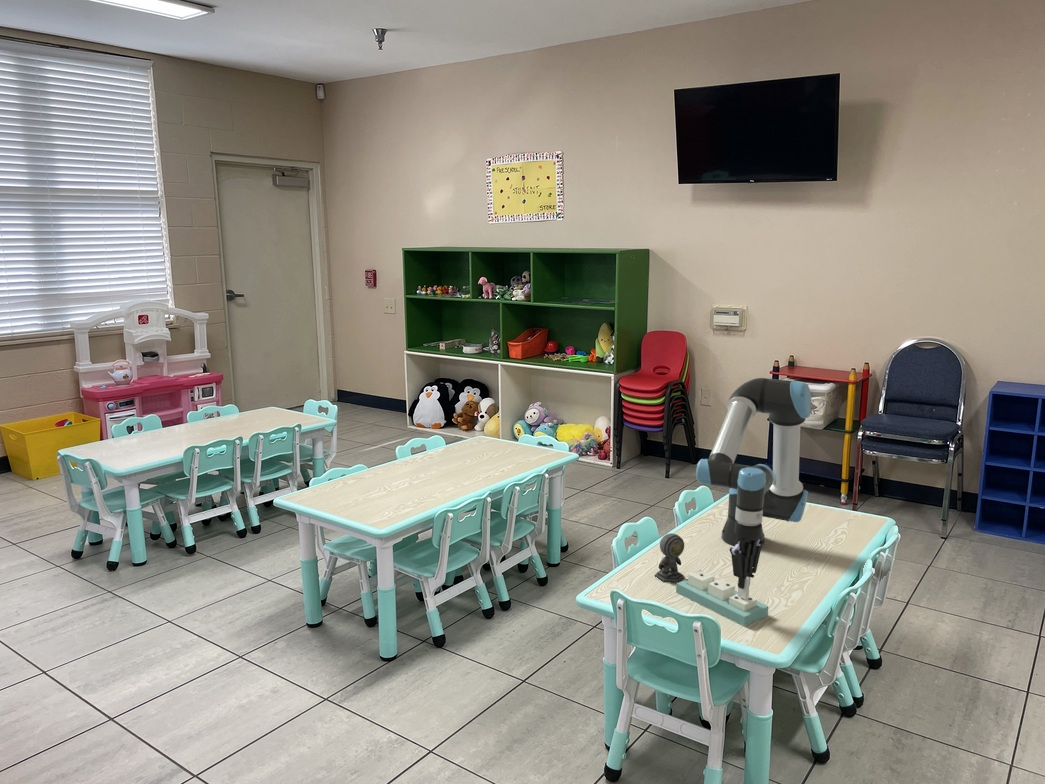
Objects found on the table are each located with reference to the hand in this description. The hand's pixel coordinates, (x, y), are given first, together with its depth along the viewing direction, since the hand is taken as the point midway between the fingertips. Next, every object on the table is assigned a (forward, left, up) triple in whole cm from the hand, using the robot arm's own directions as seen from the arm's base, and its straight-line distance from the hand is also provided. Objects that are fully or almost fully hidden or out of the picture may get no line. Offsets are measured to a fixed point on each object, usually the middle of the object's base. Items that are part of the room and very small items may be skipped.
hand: (743, 597), depth 228 cm
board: (-8, 0, -6) cm, 10 cm away
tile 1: (-16, 0, -3) cm, 16 cm away
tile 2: (-8, 0, -3) cm, 9 cm away
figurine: (-30, +1, -6) cm, 31 cm away
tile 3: (0, 0, -5) cm, 5 cm away
